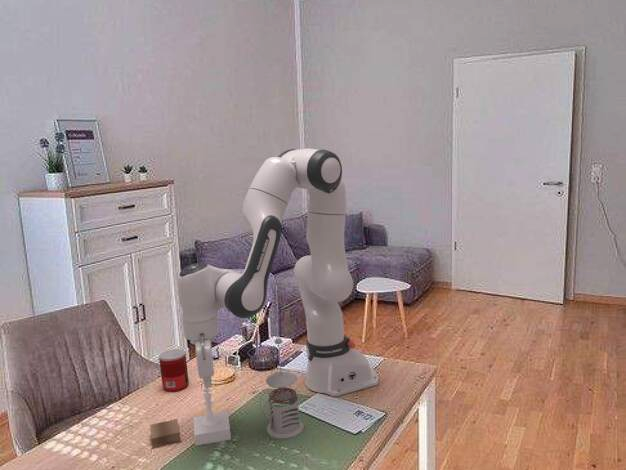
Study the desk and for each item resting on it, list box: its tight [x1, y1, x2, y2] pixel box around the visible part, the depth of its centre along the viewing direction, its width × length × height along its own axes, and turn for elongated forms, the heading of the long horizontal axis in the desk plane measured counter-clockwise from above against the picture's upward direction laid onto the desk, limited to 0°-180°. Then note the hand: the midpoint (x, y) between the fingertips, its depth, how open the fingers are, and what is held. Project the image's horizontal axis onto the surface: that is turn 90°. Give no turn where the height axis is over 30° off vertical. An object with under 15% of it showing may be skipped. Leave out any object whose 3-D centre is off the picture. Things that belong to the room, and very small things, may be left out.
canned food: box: [158, 348, 190, 393], centre depth 165 cm, size 8×8×11 cm
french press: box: [259, 337, 305, 439], centre depth 136 cm, size 10×12×25 cm
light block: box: [193, 411, 232, 447], centre depth 138 cm, size 9×9×3 cm
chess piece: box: [201, 388, 220, 428], centre depth 137 cm, size 5×5×10 cm
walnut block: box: [149, 418, 182, 449], centre depth 138 cm, size 7×7×3 cm
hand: (207, 378), depth 136 cm, fingers open, 8 cm apart
